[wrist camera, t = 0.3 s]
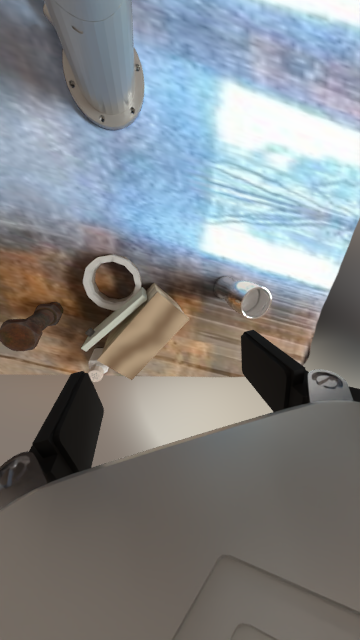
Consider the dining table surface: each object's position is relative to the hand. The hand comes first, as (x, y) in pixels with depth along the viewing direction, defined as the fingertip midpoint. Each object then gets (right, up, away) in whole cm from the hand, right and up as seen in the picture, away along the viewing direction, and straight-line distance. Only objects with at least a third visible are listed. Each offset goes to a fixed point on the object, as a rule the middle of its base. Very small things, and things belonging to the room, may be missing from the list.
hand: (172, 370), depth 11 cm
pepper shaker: (-20, -6, +38) cm, 44 cm away
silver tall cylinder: (+12, +12, +38) cm, 42 cm away
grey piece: (-17, +9, +30) cm, 35 cm away
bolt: (-28, +6, +32) cm, 43 cm away
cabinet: (-14, +7, +34) cm, 38 cm away
